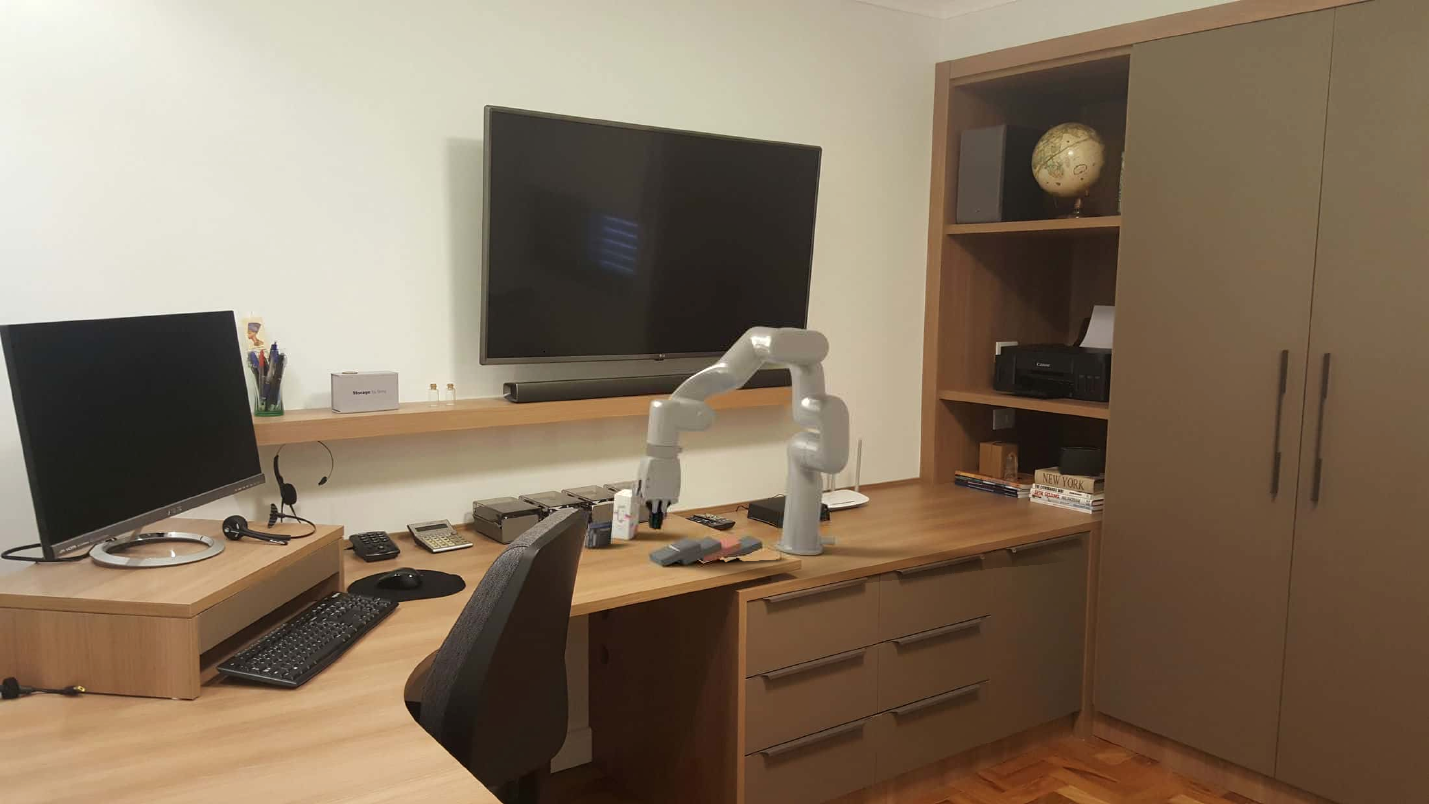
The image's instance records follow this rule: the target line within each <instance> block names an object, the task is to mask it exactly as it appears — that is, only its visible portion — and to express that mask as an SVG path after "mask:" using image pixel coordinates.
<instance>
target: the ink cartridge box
mask: <svg viewBox="0 0 1429 804" xmlns="http://www.w3.org/2000/svg"><path fill="white" fill-rule="evenodd" d="M635 486H636V481H635V482H634V483H632V484H631V489H626V488H623V489H622V490H619V491H618V492H617V493H615V494H614V499H613V514H612V515H613V516H612V534H611V539H616V540H617V539H618V540H624V541H629V540H630V539H632V538H634V537H635V536H636V535H637V534H638V530H639V529H638V527H639V517H640V505H641V504H638V503H637V502H636V500H637V497H638V496H637V495H636V494H635ZM636 533H637V534H636ZM634 535H635V536H634Z"/></svg>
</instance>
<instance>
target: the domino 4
mask: <svg viewBox="0 0 1429 804" xmlns="http://www.w3.org/2000/svg"><path fill="white" fill-rule="evenodd" d="M735 540H736V541H738V542H741V547H742V549H741V550H739V551H736V552H734V553H731V554H729V555H726V556H724V558H728V557H737V556H745V555H747V554H750V553H752V552H754V551H757V550H759V549H762V548H764V547H763V541H761V540H759V539H757V538H755V537H752V536H751V535H747V536H744V537H741V538H739V539H735Z"/></svg>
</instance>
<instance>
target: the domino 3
mask: <svg viewBox="0 0 1429 804" xmlns="http://www.w3.org/2000/svg"><path fill="white" fill-rule="evenodd" d="M736 540H737V539H733V538H732V537H729V536H726V537H724V538H721V539H719V540H717V541H719V542H721V545H722V550H719V551H717V552H715V553H712V554H710V555H708V556H705V557H703V558H701V559H699V560H701V561H703V562H706V561H712V560H714V561H716V560H719V558H721V557H724V556H726V555H729V554H731V553H734V552H736V551H739V550H741V549H742V547H741V542H738V541H736ZM712 562H713V561H712Z"/></svg>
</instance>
